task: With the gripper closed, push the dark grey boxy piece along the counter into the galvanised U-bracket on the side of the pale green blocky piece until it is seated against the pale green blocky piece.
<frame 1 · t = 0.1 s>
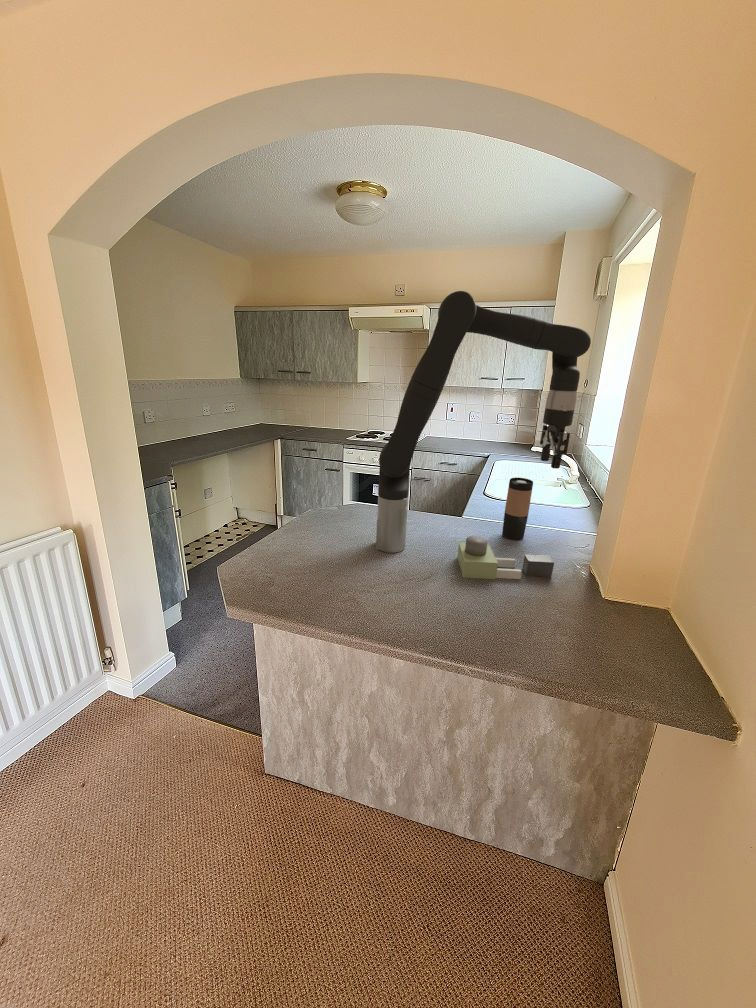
hand: (549, 464, 118), 29 cm above the countertop, fingers open, 8 cm apart
dark grey boxy piece: (536, 574, 116), on the countertop
pale green blocky piece: (475, 567, 119), on the countertop
travel mug: (512, 536, 141), on the countertop
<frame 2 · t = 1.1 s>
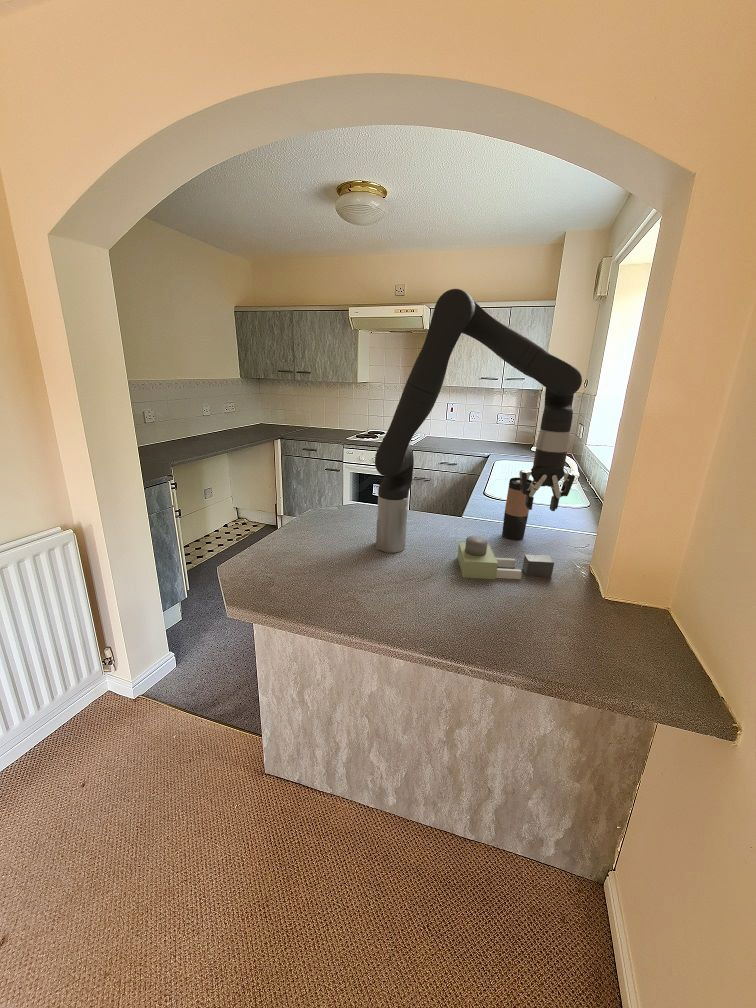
hand: (540, 509, 110), 20 cm above the countertop, fingers open, 5 cm apart
nothing on the countertop moved.
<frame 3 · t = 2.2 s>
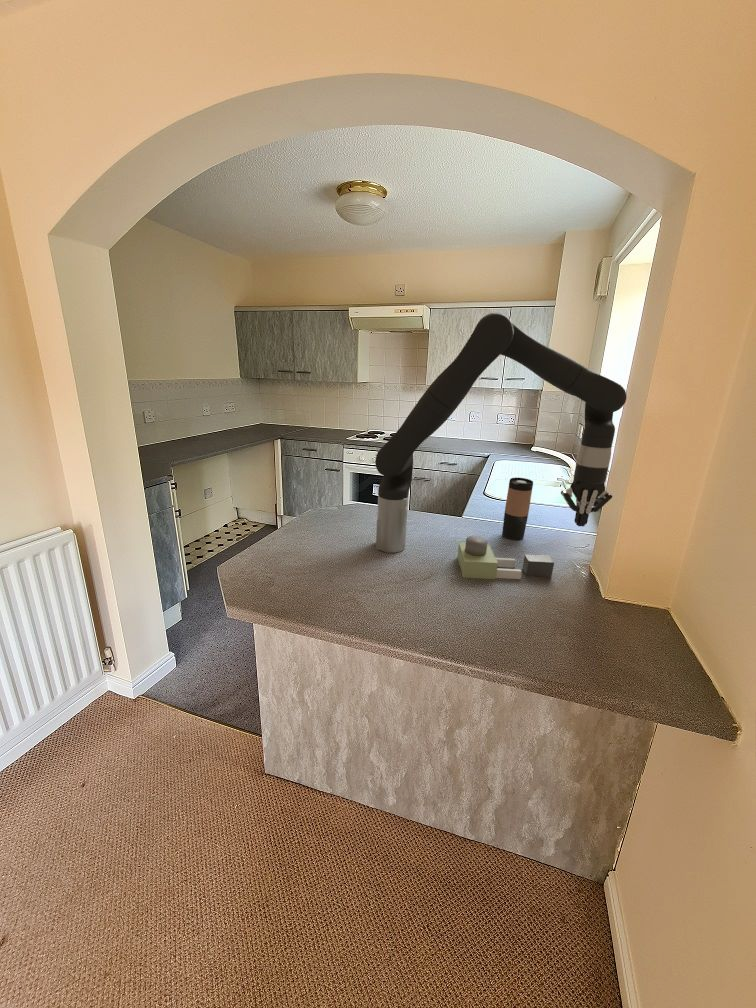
hand: (580, 525, 110), 16 cm above the countertop, fingers closed
nothing on the countertop moved.
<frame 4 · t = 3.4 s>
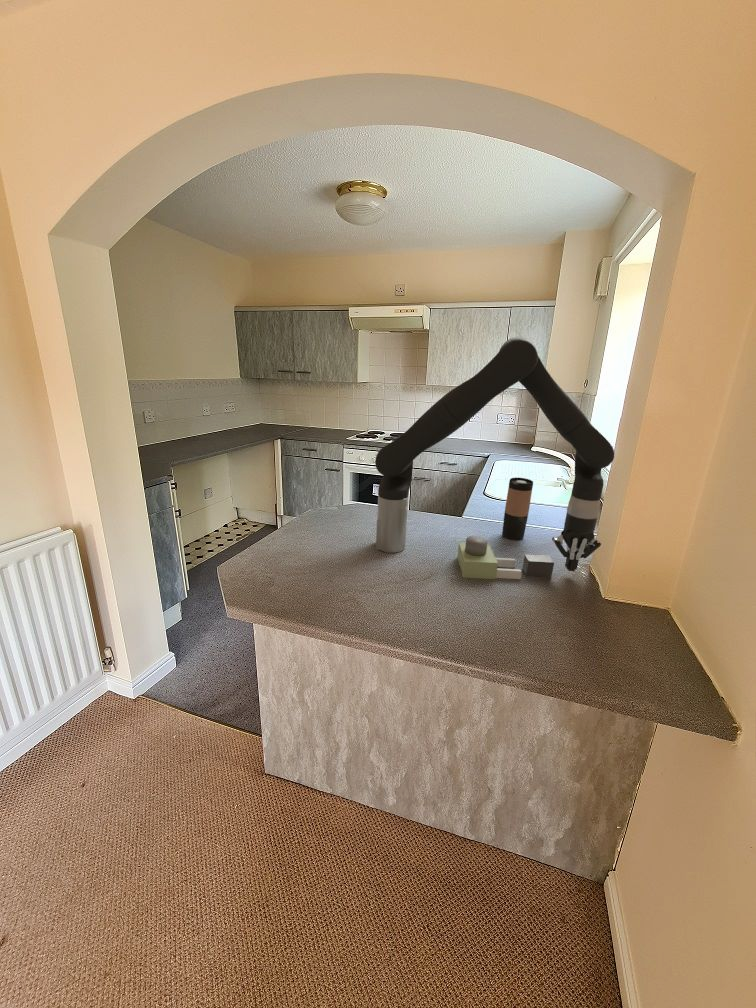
hand: (570, 569, 115), 2 cm above the countertop, fingers closed
nothing on the countertop moved.
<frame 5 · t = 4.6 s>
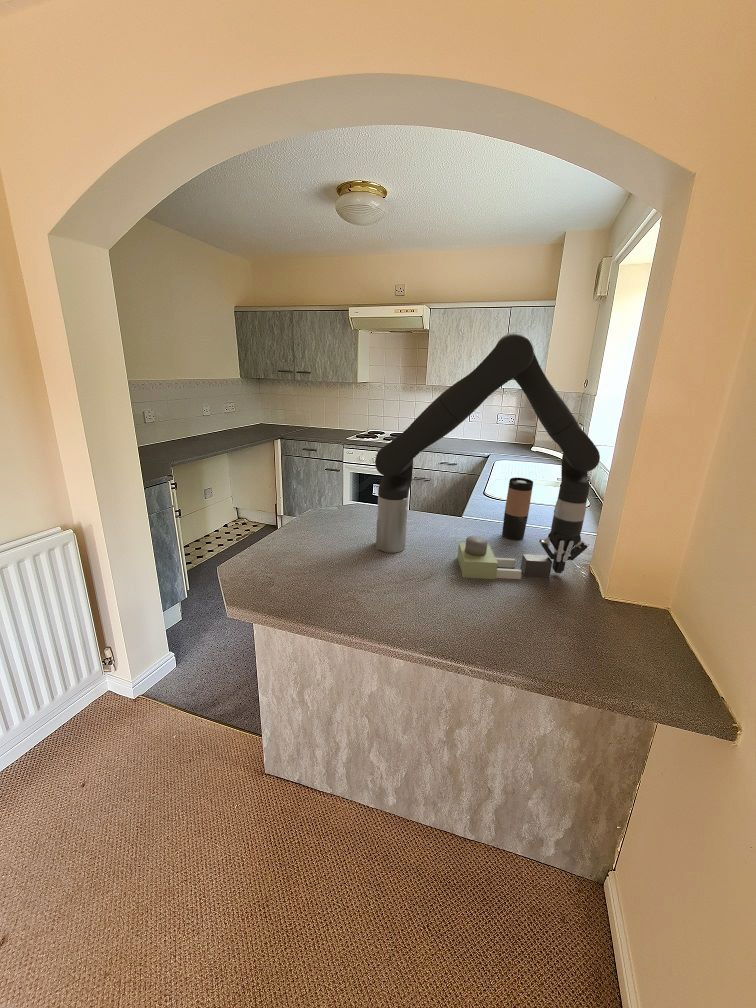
hand: (557, 571, 116), 1 cm above the countertop, fingers closed
dark grey boxy piece: (534, 573, 116), on the countertop, touching gripper
everything else where it was.
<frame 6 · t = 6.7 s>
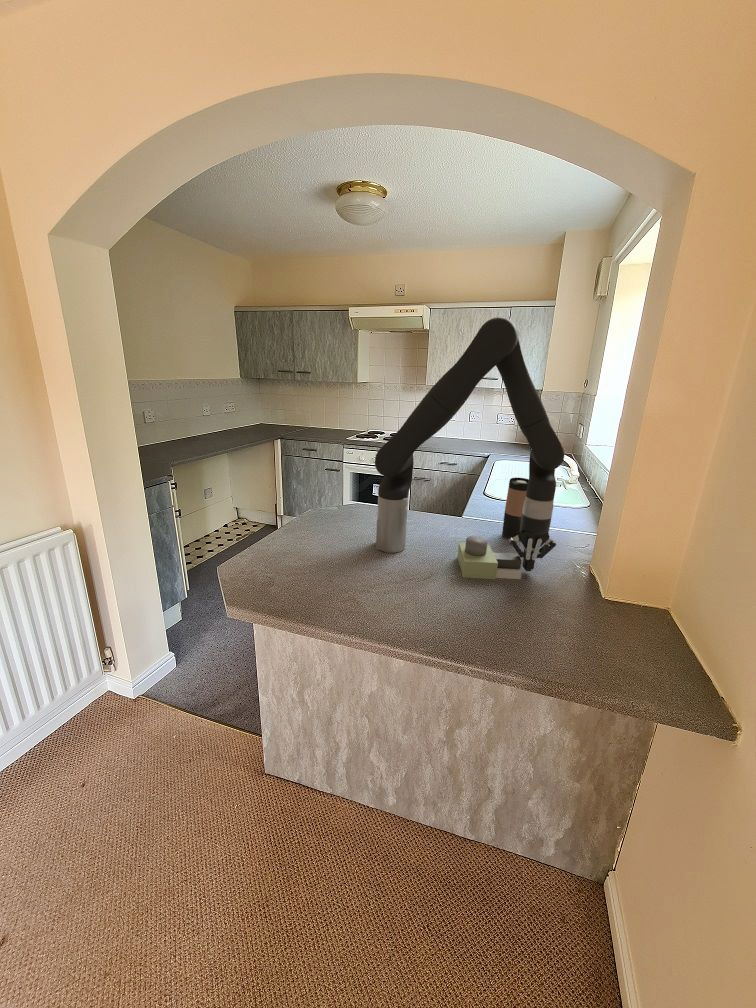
hand: (527, 569, 116), 1 cm above the countertop, fingers closed
dark grey boxy piece: (504, 572, 117), resting in pale green blocky piece, touching gripper
everything else where it was.
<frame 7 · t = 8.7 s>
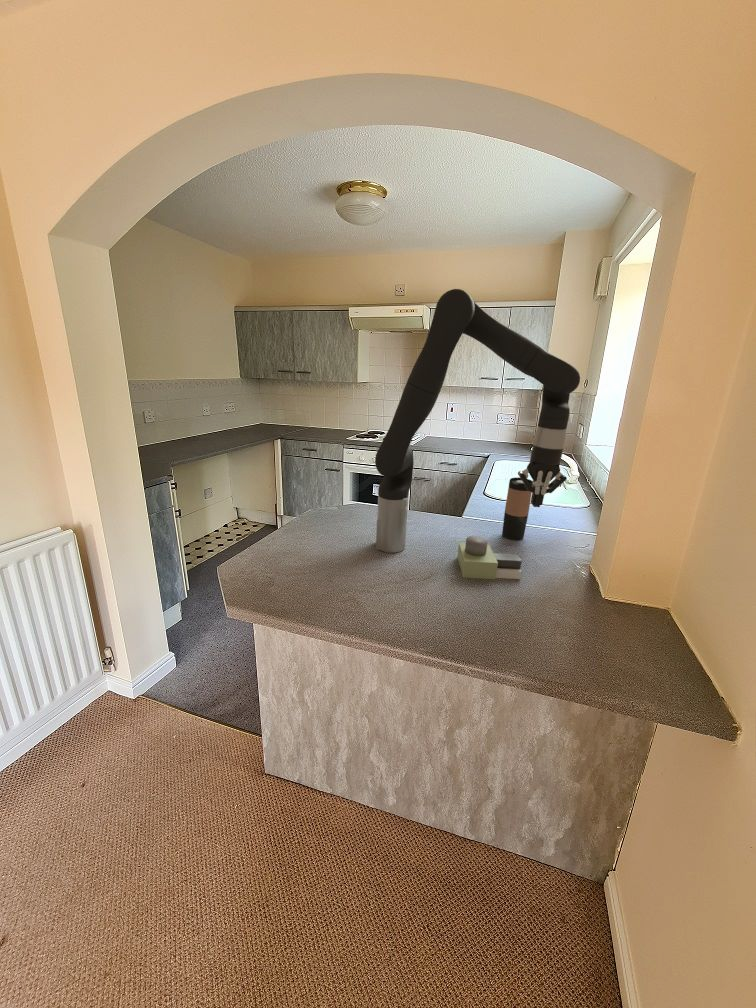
hand: (535, 506, 113), 19 cm above the countertop, fingers closed
dark grey boxy piece: (504, 572, 117), resting in pale green blocky piece
everything else where it was.
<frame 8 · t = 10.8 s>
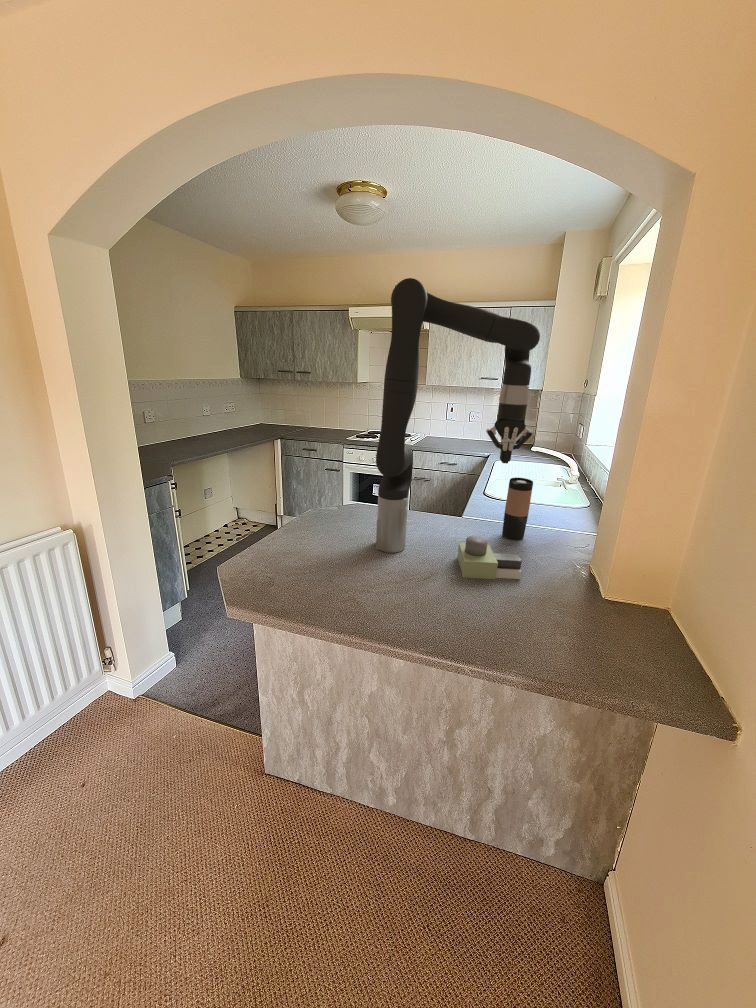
hand: (504, 462, 119), 29 cm above the countertop, fingers closed
nothing on the countertop moved.
at the end: dark grey boxy piece 1.3 cm from the target spot on the pale green blocky piece, point 0.0 cm above the pale green blocky piece's base; dark grey boxy piece tilted 0° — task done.
